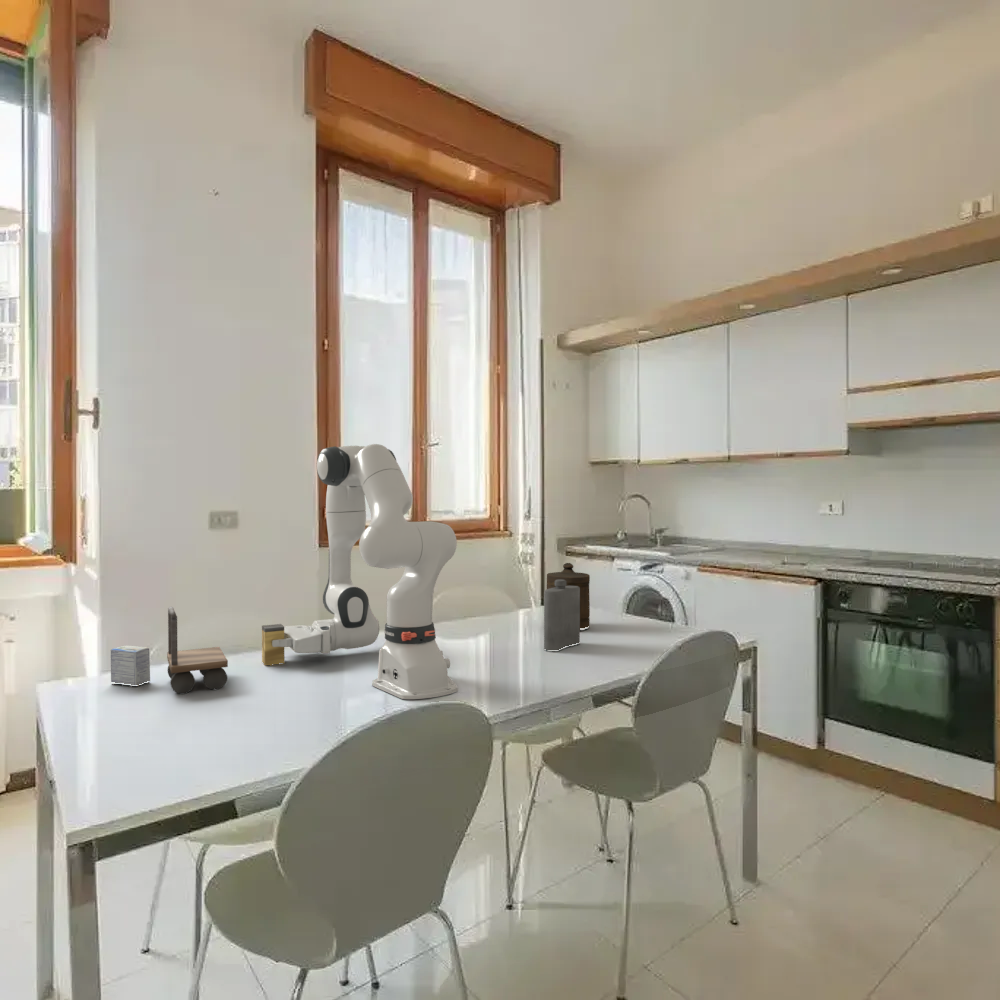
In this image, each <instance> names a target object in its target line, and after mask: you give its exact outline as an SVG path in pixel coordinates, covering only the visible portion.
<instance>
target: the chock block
mask: <svg viewBox="0 0 1000 1000" xmlns="http://www.w3.org/2000/svg"><path fill="white" fill-rule="evenodd" d="M273 639H284V625H283V624H282V623H277V624H267V625H266V624H265V625H261V663H262V662H263V663H264V664H263V663H262V664H263V666H265V665H270V666H273V665H272V664H279V663H284V664H285V647H273V646H272V645H271V641H272V640H273ZM279 665H280V664H279Z"/></svg>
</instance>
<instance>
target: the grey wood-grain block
mask: <svg viewBox="0 0 1000 1000" xmlns="http://www.w3.org/2000/svg"><path fill="white" fill-rule="evenodd" d="M150 654H151V653H150V648H149V647H148V646H147V647H145V646H137V645H122V646H118V647H114V648H112V649H110V683H111V682H115V683H124V684H131V685H139V684H142V683H144V682H147V681H150V682H151V667H150V666H151V663H150V661H151V660H150V659H151V658H150V657H151V656H150Z"/></svg>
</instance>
